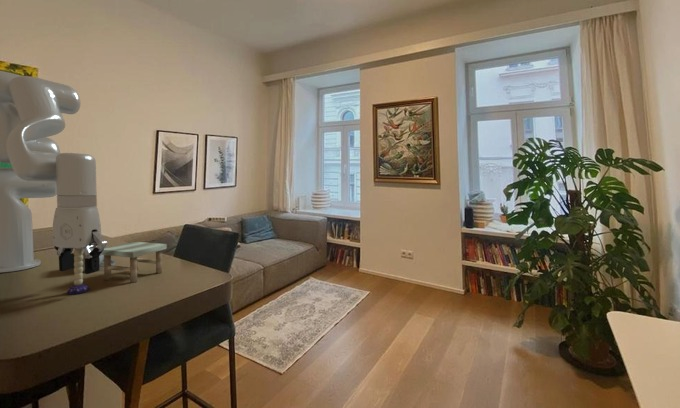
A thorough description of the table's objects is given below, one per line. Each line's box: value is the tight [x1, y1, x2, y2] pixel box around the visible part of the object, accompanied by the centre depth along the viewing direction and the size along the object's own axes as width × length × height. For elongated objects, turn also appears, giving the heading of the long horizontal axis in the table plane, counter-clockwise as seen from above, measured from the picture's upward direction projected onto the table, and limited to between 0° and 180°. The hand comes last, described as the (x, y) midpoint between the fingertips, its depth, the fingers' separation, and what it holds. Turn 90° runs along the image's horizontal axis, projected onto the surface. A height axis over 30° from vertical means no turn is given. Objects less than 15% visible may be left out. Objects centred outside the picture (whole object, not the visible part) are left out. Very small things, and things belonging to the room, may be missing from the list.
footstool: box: [101, 241, 168, 284], centre depth 89 cm, size 12×12×9 cm
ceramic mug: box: [73, 248, 116, 273], centre depth 95 cm, size 11×8×8 cm
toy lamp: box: [66, 249, 90, 295], centre depth 75 cm, size 5×5×17 cm
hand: (79, 270), depth 75 cm, fingers open, 7 cm apart
